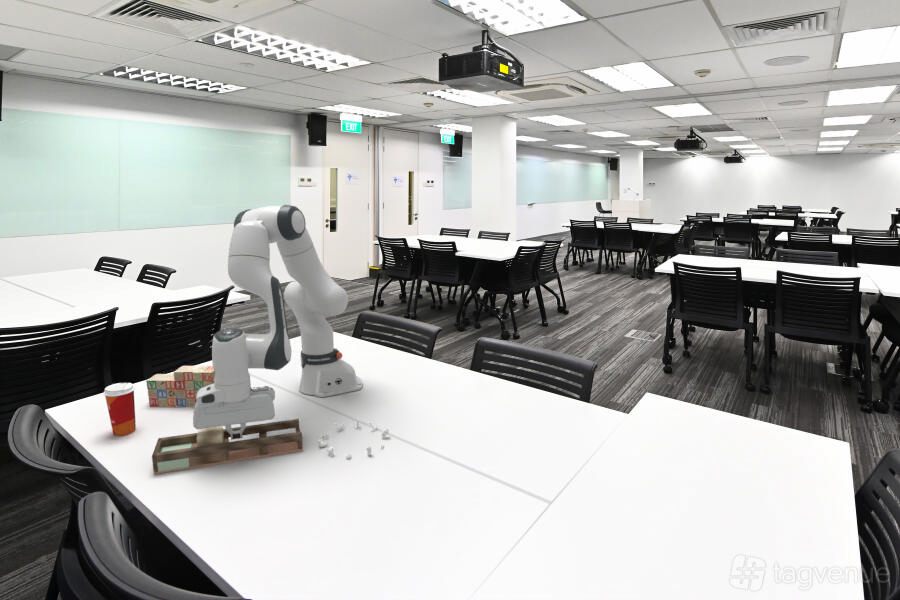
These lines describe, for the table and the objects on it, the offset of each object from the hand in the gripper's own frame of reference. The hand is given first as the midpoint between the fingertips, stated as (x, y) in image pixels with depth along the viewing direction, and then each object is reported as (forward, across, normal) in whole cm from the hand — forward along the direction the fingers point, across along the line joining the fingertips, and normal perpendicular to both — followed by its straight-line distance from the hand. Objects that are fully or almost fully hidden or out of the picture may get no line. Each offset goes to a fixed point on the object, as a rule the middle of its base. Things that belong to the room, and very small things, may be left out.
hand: (236, 438), depth 138 cm
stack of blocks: (+4, +17, -41) cm, 45 cm away
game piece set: (+5, -31, +5) cm, 31 cm away
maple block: (+1, +6, 0) cm, 7 cm away
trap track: (+4, +1, 0) cm, 4 cm away
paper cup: (+4, +31, -24) cm, 40 cm away
